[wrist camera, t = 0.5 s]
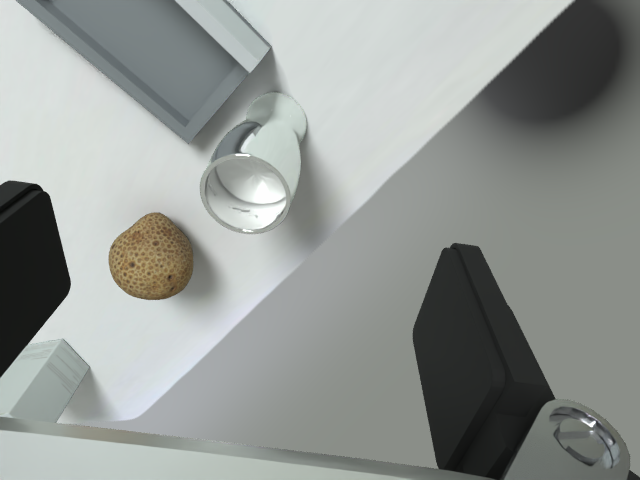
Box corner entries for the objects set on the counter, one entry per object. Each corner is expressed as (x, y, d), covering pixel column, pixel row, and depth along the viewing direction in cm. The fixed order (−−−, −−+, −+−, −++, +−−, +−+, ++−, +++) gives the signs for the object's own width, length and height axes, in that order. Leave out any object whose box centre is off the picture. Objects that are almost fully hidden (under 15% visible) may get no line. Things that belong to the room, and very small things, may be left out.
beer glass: (311, 156, 44) (295, 238, 32) (245, 153, 44) (204, 235, 32) (310, 87, 40) (291, 152, 28) (238, 86, 40) (188, 149, 28)
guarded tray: (90, -140, 31) (42, -154, 27) (271, 46, 38) (259, 62, 33) (28, -9, 37) (-22, -1, 32) (196, 134, 44) (176, 158, 39)
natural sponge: (163, 271, 55) (130, 328, 47) (116, 218, 50) (70, 271, 42) (220, 248, 52) (195, 305, 44) (175, 190, 48) (138, 242, 40)
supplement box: (24, 344, 66) (-37, 419, 56) (64, 337, 64) (8, 413, 54) (54, 373, 70) (2, 448, 60) (91, 367, 68) (45, 443, 58)
